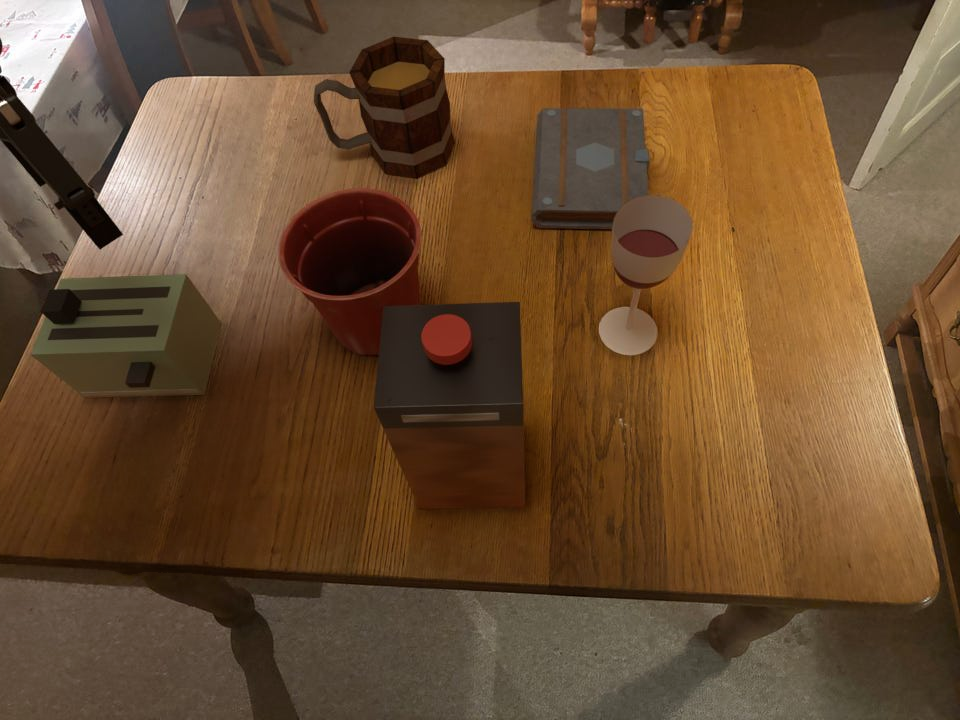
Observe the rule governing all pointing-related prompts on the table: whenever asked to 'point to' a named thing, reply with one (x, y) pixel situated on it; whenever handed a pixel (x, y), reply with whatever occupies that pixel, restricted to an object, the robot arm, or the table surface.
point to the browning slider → (61, 306)
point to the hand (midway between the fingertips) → (79, 208)
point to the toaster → (132, 337)
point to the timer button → (446, 339)
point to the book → (587, 166)
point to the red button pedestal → (455, 407)
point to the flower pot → (354, 261)
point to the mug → (398, 106)
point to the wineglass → (643, 265)
